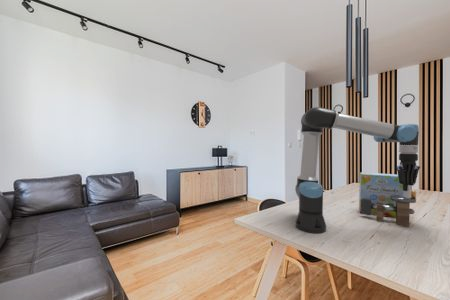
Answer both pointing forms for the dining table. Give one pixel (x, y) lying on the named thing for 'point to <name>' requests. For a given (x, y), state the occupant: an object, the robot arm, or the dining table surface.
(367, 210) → the cube-head mallet
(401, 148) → the robot arm
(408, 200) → the lock wheel
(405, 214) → the notched wooden block
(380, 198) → the snack box
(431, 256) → the dining table surface
